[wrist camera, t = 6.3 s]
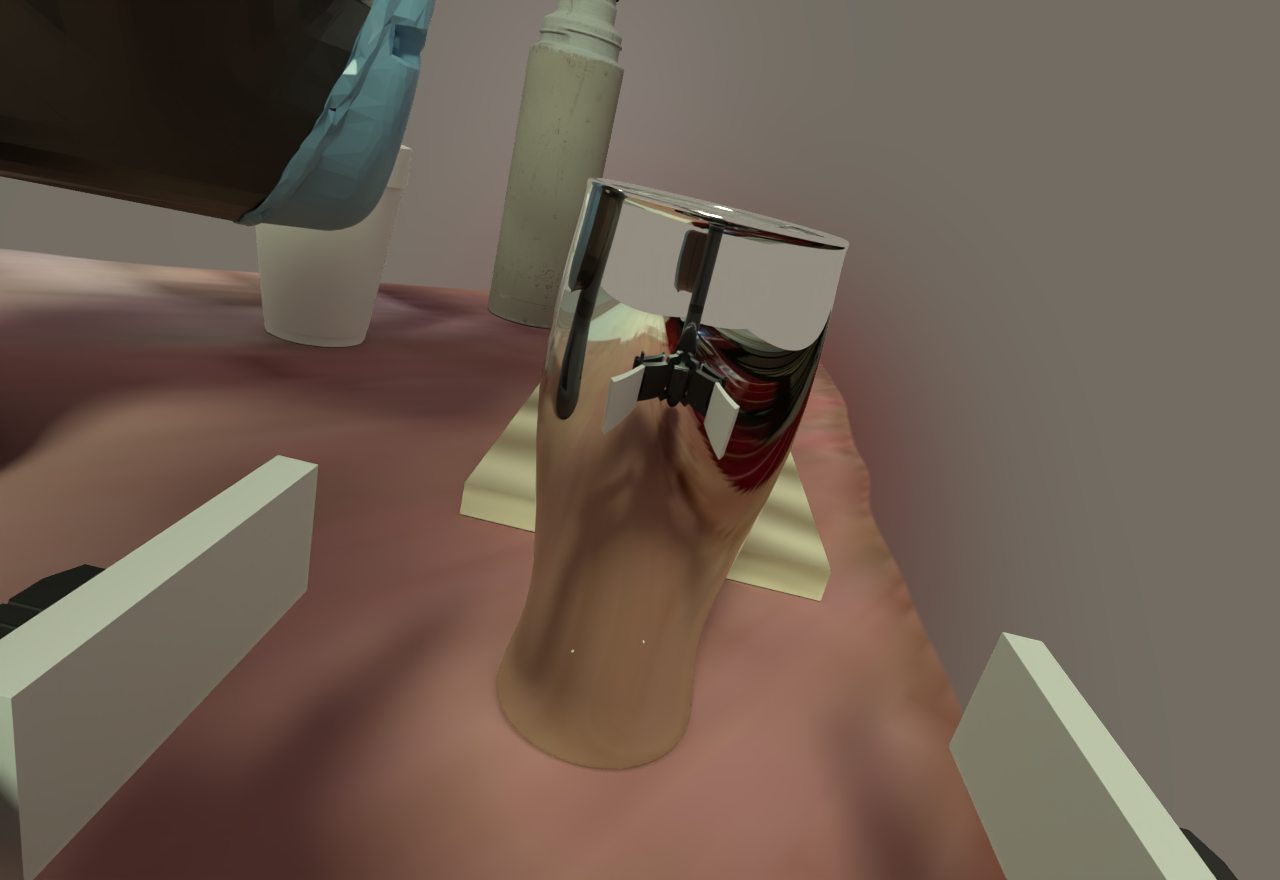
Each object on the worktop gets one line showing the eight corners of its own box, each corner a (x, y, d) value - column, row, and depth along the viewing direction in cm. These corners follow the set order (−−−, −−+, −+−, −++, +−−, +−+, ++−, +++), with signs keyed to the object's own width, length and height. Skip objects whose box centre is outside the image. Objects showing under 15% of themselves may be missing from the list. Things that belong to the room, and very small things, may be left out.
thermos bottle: (531, 303, 76) (587, -7, 66) (589, 328, 72) (658, 0, 62) (469, 304, 69) (522, -39, 60) (530, 330, 65) (596, -33, 56)
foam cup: (266, 355, 45) (280, 125, 41) (217, 309, 51) (224, 104, 46) (412, 354, 52) (438, 156, 47) (354, 314, 57) (372, 135, 53)
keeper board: (820, 601, 33) (831, 571, 32) (459, 513, 32) (464, 482, 32) (769, 426, 55) (775, 407, 55) (557, 374, 55) (560, 354, 54)
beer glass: (464, 630, 25) (548, 163, 20) (653, 625, 28) (768, 215, 23) (505, 798, 19) (638, 196, 14) (739, 770, 22) (920, 260, 17)
